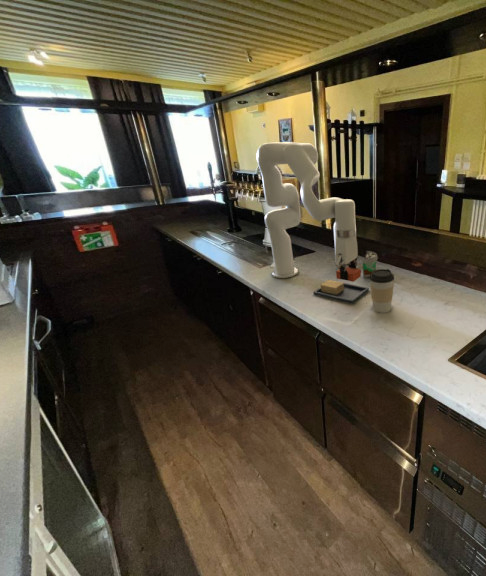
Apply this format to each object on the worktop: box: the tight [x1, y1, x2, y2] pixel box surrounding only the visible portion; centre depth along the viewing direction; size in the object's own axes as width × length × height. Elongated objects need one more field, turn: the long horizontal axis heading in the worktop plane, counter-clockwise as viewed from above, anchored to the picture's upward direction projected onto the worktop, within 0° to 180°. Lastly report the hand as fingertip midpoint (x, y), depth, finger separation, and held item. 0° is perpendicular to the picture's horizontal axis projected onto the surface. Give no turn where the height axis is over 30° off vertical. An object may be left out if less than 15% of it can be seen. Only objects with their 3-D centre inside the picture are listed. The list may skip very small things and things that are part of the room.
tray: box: [313, 279, 370, 305], centre depth 128 cm, size 19×14×2 cm
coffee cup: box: [369, 268, 395, 313], centre depth 112 cm, size 9×9×15 cm
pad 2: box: [335, 266, 362, 283], centre depth 122 cm, size 8×6×3 cm
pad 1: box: [320, 279, 345, 295], centre depth 130 cm, size 8×6×3 cm
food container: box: [362, 250, 379, 278], centre depth 144 cm, size 12×6×10 cm, turn 168°
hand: (348, 276), depth 123 cm, fingers closed on pad 2, 6 cm apart
